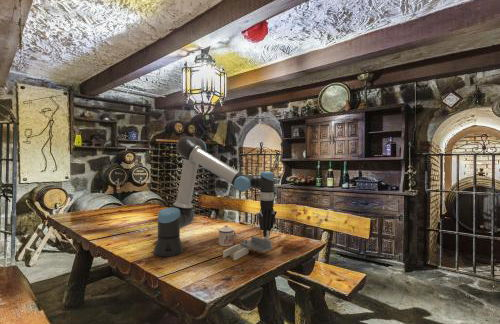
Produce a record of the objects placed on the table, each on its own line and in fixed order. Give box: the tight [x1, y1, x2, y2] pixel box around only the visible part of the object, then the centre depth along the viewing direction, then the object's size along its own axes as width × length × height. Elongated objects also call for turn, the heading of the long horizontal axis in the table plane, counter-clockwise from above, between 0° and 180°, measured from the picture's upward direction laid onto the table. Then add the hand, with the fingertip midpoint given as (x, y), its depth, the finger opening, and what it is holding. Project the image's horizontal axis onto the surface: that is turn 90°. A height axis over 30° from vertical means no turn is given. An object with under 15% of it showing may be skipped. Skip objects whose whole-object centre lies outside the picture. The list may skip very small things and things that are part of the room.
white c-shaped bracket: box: [222, 243, 250, 261], centre depth 150 cm, size 8×17×4 cm, turn 151°
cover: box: [239, 235, 273, 253], centre depth 152 cm, size 9×18×4 cm, turn 47°
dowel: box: [228, 249, 242, 260], centre depth 147 cm, size 9×3×3 cm
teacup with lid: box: [218, 224, 237, 247], centre depth 168 cm, size 12×9×12 cm
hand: (266, 242), depth 153 cm, fingers closed
